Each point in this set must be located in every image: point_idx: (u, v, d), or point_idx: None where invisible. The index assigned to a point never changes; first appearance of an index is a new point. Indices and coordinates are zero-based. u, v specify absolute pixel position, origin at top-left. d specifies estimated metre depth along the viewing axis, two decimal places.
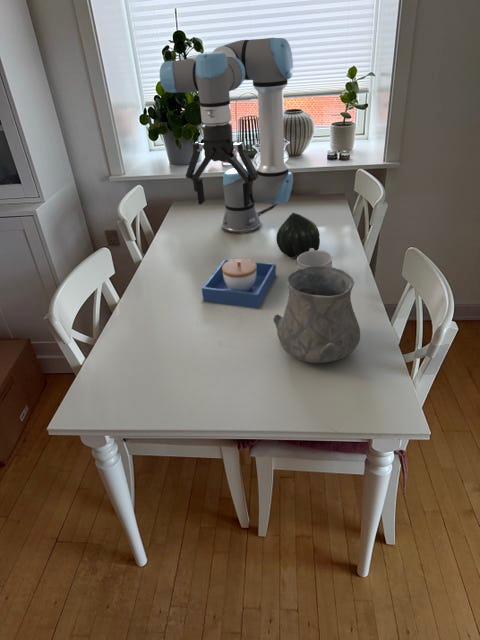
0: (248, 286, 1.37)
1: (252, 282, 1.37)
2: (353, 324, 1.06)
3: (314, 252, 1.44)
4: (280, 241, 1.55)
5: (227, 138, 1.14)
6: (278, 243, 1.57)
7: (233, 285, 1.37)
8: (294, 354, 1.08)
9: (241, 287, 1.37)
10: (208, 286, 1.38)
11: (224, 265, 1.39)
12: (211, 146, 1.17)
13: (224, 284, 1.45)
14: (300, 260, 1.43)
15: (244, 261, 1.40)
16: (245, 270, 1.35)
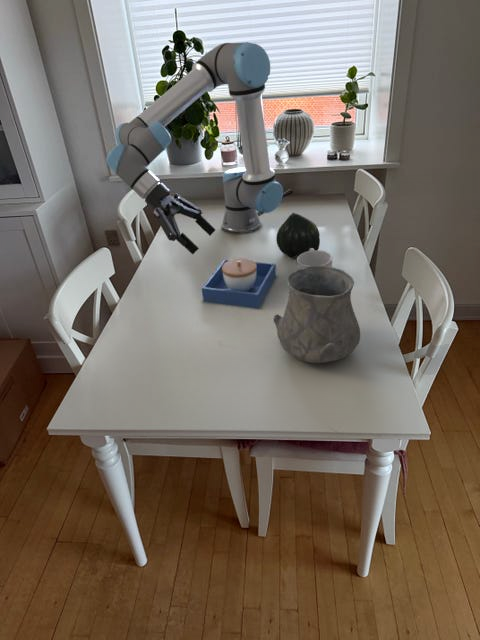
0: (248, 286, 1.37)
1: (252, 282, 1.37)
2: (353, 324, 1.06)
3: (314, 252, 1.44)
4: (280, 241, 1.55)
5: (152, 207, 1.32)
6: (278, 243, 1.57)
7: (233, 285, 1.37)
8: (294, 354, 1.08)
9: (241, 287, 1.37)
10: (208, 286, 1.38)
11: (224, 265, 1.39)
12: None
13: (224, 284, 1.45)
14: (300, 260, 1.43)
15: (244, 261, 1.40)
16: (245, 270, 1.35)
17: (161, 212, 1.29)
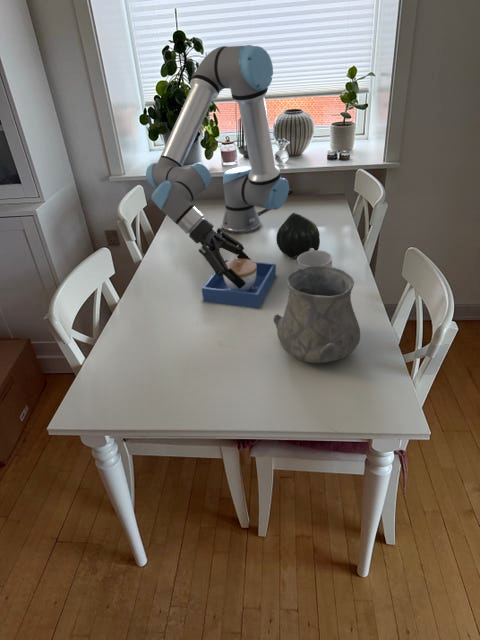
0: (248, 286, 1.37)
1: (252, 282, 1.37)
2: (353, 324, 1.06)
3: (314, 252, 1.44)
4: (280, 241, 1.55)
5: (196, 241, 1.34)
6: (278, 243, 1.57)
7: (233, 285, 1.37)
8: (294, 354, 1.08)
9: (241, 287, 1.37)
10: (208, 286, 1.38)
11: None
12: None
13: (224, 284, 1.45)
14: (300, 260, 1.43)
15: (244, 261, 1.40)
16: (245, 270, 1.35)
17: (208, 249, 1.31)
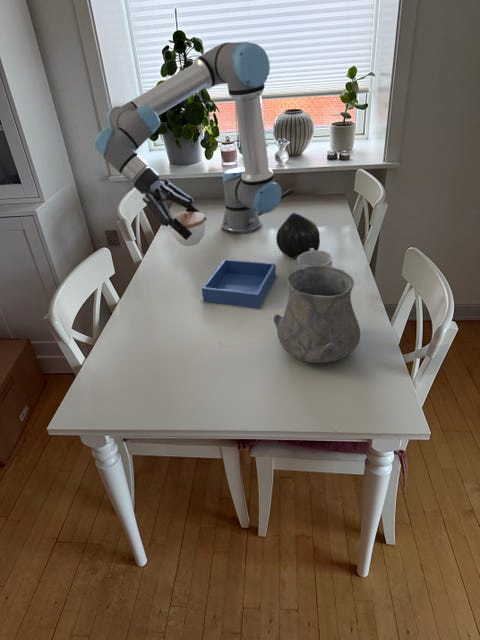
0: (196, 238, 1.34)
1: (200, 234, 1.34)
2: (353, 324, 1.06)
3: (314, 252, 1.44)
4: (280, 241, 1.55)
5: (141, 191, 1.31)
6: (278, 243, 1.57)
7: (180, 237, 1.33)
8: (294, 354, 1.08)
9: (188, 239, 1.33)
10: (208, 286, 1.38)
11: None
12: None
13: (224, 284, 1.45)
14: (300, 260, 1.43)
15: (192, 213, 1.37)
16: (191, 221, 1.32)
17: (151, 197, 1.27)
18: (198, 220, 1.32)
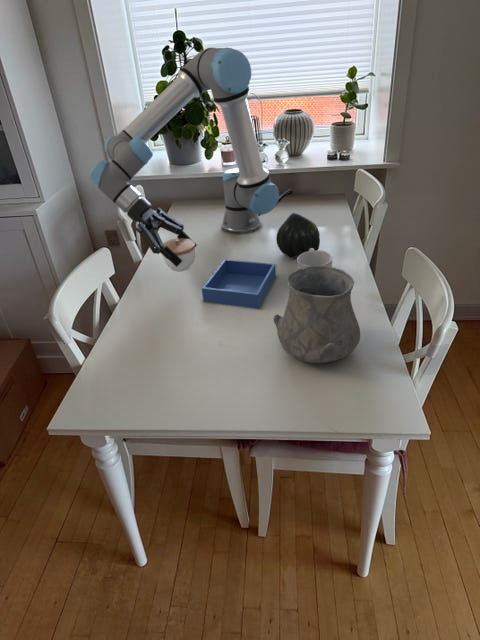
0: (186, 264, 1.40)
1: (190, 260, 1.41)
2: (353, 324, 1.06)
3: (314, 252, 1.44)
4: (280, 241, 1.55)
5: (134, 220, 1.37)
6: (278, 243, 1.57)
7: (171, 264, 1.40)
8: (294, 354, 1.08)
9: (179, 265, 1.40)
10: (208, 286, 1.38)
11: (163, 244, 1.42)
12: None
13: (224, 284, 1.45)
14: (300, 260, 1.43)
15: (183, 240, 1.43)
16: (182, 248, 1.38)
17: (143, 227, 1.34)
18: (188, 248, 1.39)
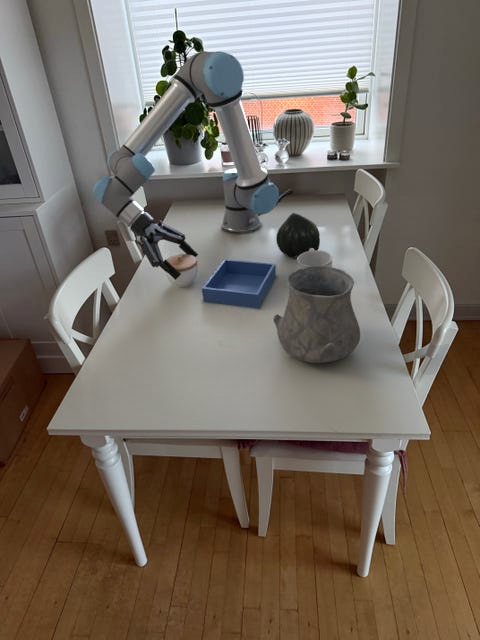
0: (188, 280, 1.44)
1: (192, 276, 1.44)
2: (353, 324, 1.06)
3: (314, 252, 1.44)
4: (280, 241, 1.55)
5: (137, 234, 1.40)
6: (278, 243, 1.57)
7: (174, 280, 1.43)
8: (294, 354, 1.08)
9: (181, 281, 1.43)
10: (208, 286, 1.38)
11: None
12: None
13: (224, 284, 1.45)
14: (300, 260, 1.43)
15: (186, 256, 1.46)
16: (184, 265, 1.41)
17: (145, 240, 1.36)
18: (190, 264, 1.42)
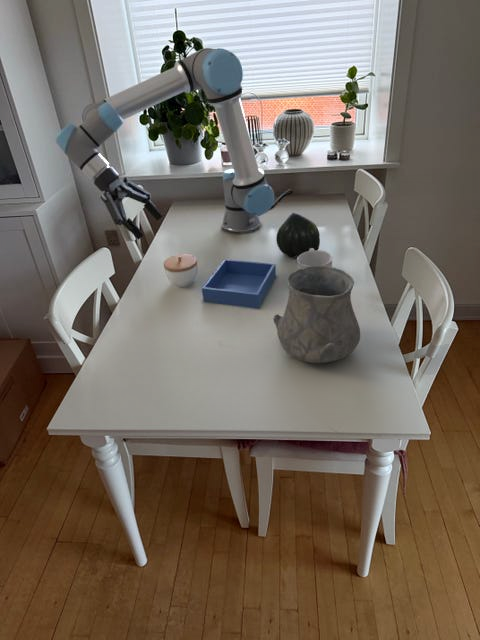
0: (188, 280, 1.44)
1: (192, 276, 1.44)
2: (353, 324, 1.06)
3: (314, 252, 1.44)
4: (280, 241, 1.55)
5: (101, 189, 1.36)
6: (278, 243, 1.57)
7: (174, 280, 1.43)
8: (294, 354, 1.08)
9: (181, 281, 1.43)
10: (208, 286, 1.38)
11: (166, 260, 1.45)
12: None
13: (224, 284, 1.45)
14: (300, 260, 1.43)
15: (186, 256, 1.46)
16: (184, 265, 1.41)
17: (109, 196, 1.33)
18: (190, 264, 1.42)
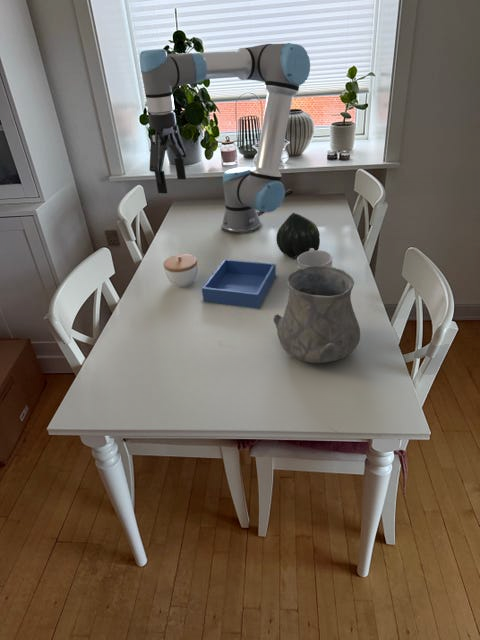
0: (188, 280, 1.44)
1: (192, 276, 1.44)
2: (353, 324, 1.06)
3: (314, 252, 1.44)
4: (280, 241, 1.55)
5: (152, 127, 1.29)
6: (278, 243, 1.57)
7: (174, 280, 1.43)
8: (294, 354, 1.08)
9: (181, 281, 1.43)
10: (208, 286, 1.38)
11: (166, 260, 1.45)
12: None
13: (224, 284, 1.45)
14: (300, 260, 1.43)
15: (186, 256, 1.46)
16: (184, 265, 1.41)
17: (159, 141, 1.28)
18: (190, 264, 1.42)
